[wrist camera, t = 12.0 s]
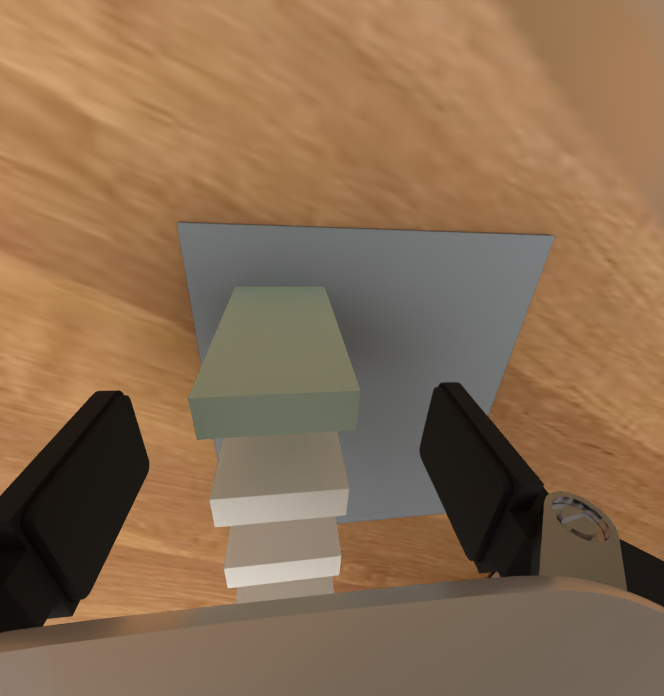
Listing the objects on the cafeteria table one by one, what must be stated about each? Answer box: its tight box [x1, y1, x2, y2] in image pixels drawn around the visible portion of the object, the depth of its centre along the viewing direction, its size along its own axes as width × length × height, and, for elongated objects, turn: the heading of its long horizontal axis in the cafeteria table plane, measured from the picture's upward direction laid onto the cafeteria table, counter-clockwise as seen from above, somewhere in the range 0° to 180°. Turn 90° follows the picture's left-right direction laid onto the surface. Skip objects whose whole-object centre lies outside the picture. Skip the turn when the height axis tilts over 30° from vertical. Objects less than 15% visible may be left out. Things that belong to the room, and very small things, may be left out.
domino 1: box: [210, 431, 349, 527], centre depth 16 cm, size 2×5×10 cm, turn 87°
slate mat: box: [177, 222, 555, 528], centre depth 24 cm, size 26×21×1 cm
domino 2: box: [224, 516, 341, 588], centre depth 18 cm, size 2×5×10 cm, turn 87°
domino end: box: [188, 286, 360, 440], centre depth 14 cm, size 2×5×10 cm, turn 88°
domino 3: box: [236, 576, 334, 604], centre depth 21 cm, size 2×5×10 cm, turn 87°
